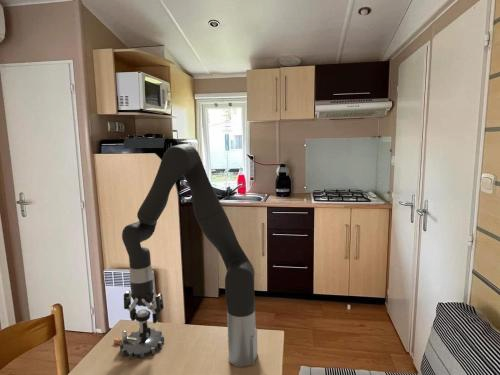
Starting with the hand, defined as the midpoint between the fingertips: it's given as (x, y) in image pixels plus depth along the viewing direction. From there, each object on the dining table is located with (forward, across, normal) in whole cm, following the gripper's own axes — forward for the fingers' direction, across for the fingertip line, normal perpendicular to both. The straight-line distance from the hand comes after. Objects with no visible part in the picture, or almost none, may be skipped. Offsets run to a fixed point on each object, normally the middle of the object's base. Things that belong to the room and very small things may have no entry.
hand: (144, 320), depth 111 cm
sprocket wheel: (+9, -1, -1) cm, 9 cm away
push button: (+7, -1, 0) cm, 7 cm away
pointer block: (+9, -11, -1) cm, 15 cm away
